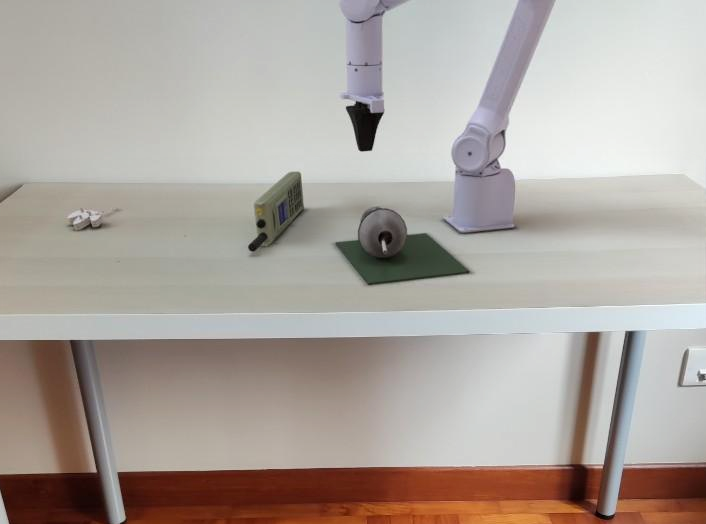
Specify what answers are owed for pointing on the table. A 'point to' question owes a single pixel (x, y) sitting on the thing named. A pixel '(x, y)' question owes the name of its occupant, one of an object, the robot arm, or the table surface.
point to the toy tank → (85, 218)
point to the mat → (403, 261)
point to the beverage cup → (382, 232)
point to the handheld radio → (277, 209)
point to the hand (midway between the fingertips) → (365, 150)
